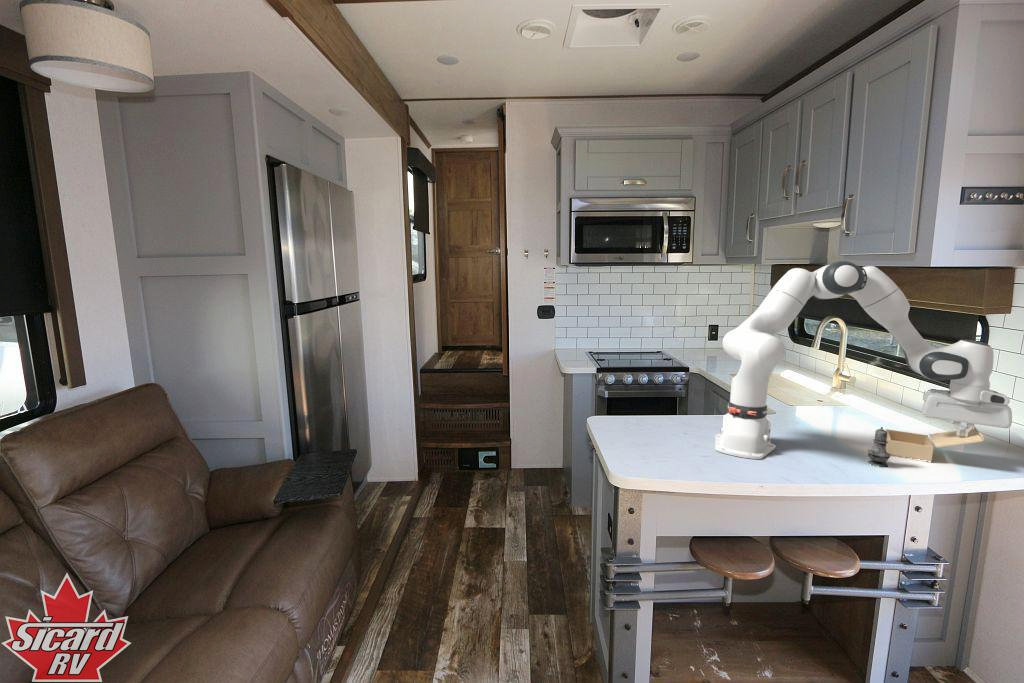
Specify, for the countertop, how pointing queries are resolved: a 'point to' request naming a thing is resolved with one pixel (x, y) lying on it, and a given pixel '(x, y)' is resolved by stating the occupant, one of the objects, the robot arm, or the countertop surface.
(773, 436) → the countertop surface
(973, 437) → the lid
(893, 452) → the mailer box
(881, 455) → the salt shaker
